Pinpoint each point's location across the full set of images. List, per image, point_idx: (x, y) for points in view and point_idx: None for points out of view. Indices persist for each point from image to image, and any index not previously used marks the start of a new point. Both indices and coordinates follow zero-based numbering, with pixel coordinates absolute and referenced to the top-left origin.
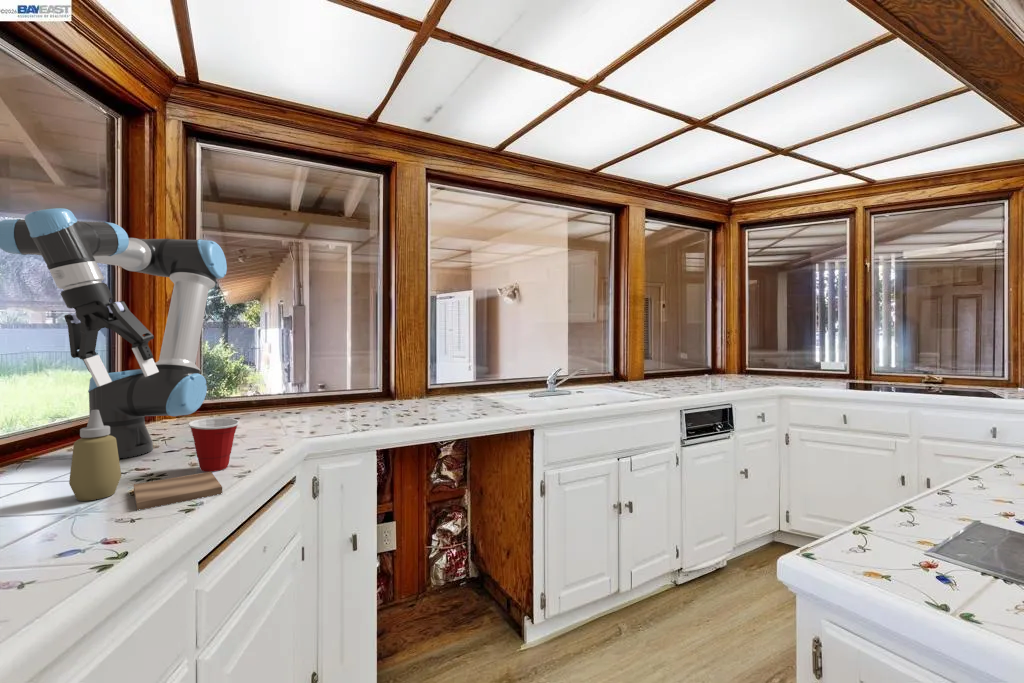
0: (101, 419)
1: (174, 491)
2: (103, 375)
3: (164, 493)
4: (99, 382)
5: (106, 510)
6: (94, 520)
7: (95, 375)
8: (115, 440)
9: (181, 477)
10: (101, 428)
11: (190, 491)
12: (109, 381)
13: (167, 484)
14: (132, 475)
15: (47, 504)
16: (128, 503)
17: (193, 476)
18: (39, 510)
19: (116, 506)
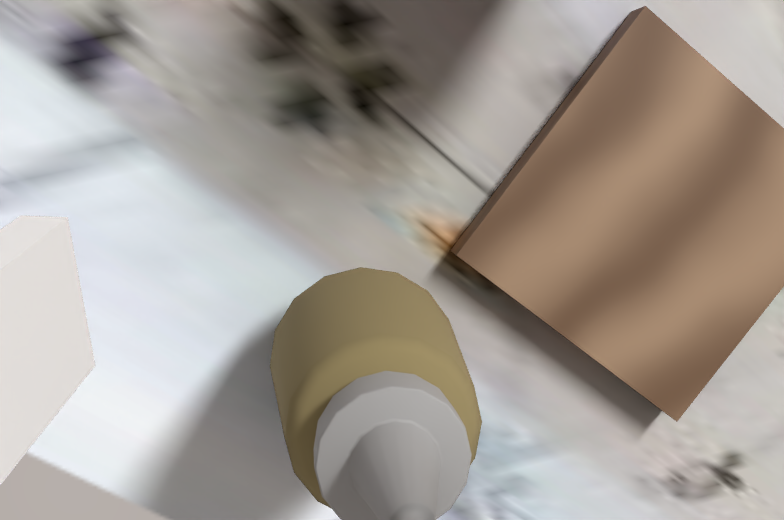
0: (430, 464)
1: (710, 288)
2: (19, 341)
3: (691, 317)
4: (72, 379)
5: (551, 435)
6: (601, 509)
7: (15, 453)
8: (459, 363)
9: (581, 122)
10: (464, 471)
11: (772, 271)
12: (66, 251)
13: (605, 221)
14: (202, 57)
15: (260, 448)
16: (562, 362)
17: (626, 97)
18: (305, 498)
19: (548, 397)
